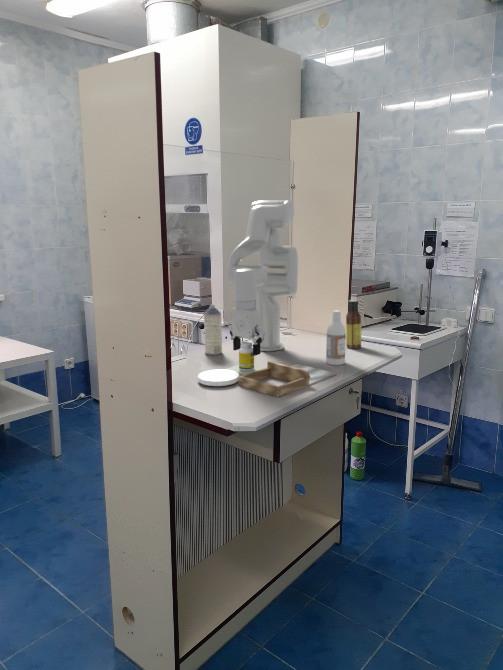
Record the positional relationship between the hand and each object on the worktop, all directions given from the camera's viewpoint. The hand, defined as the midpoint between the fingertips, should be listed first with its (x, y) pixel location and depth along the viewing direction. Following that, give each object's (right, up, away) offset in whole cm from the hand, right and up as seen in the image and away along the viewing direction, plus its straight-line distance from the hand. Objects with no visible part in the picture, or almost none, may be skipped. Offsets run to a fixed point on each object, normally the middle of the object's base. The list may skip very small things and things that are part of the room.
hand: (246, 352), depth 190 cm
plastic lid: (-9, -10, -7) cm, 16 cm away
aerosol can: (-14, -2, +28) cm, 31 cm away
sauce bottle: (+44, +1, +35) cm, 56 cm away
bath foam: (+33, -5, +12) cm, 36 cm away
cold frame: (+14, -9, -7) cm, 18 cm away
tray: (0, -8, +1) cm, 8 cm away
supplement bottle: (0, -6, +1) cm, 6 cm away
